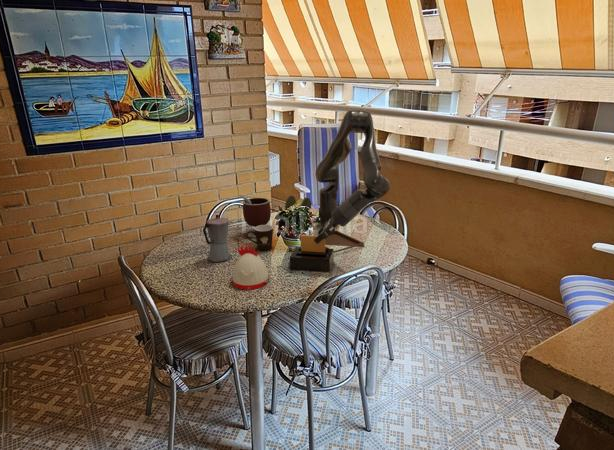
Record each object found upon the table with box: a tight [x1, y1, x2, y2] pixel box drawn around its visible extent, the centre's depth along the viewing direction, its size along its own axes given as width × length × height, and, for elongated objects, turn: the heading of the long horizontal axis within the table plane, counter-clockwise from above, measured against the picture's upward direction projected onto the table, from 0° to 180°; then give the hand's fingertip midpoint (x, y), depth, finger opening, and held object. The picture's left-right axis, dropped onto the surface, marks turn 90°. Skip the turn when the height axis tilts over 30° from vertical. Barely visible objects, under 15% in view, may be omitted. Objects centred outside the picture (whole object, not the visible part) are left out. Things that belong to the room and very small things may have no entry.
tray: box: [324, 229, 365, 254], centre depth 191 cm, size 21×17×2 cm
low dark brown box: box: [289, 246, 335, 273], centre depth 166 cm, size 17×11×7 cm, turn 78°
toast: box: [300, 234, 326, 252], centre depth 167 cm, size 10×1×12 cm, turn 78°
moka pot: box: [202, 214, 230, 263], centre depth 175 cm, size 10×15×20 cm, turn 155°
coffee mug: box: [245, 224, 274, 252], centre depth 188 cm, size 12×9×10 cm
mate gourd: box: [239, 194, 272, 239], centre depth 205 cm, size 16×14×20 cm
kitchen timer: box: [231, 244, 270, 290], centre depth 156 cm, size 14×14×15 cm
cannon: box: [284, 195, 312, 210], centre depth 226 cm, size 25×12×11 cm, turn 152°
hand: (317, 238), depth 165 cm, fingers open, 8 cm apart
